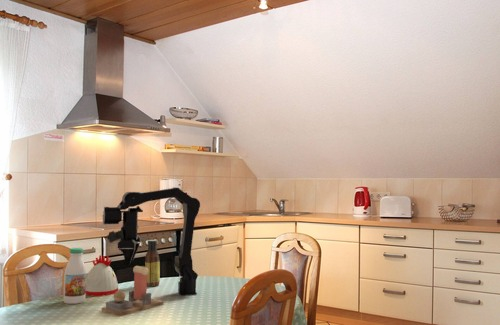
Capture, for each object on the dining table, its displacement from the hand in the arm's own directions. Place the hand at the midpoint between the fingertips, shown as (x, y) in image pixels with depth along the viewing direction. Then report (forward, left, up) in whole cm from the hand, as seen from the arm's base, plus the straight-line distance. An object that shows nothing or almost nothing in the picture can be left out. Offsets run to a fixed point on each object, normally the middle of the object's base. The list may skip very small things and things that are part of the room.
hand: (129, 263), depth 184 cm
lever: (-3, +13, -11) cm, 17 cm away
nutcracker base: (0, +15, -13) cm, 20 cm away
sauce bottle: (-12, -20, -14) cm, 27 cm away
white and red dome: (+10, -13, -14) cm, 21 cm away
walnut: (+5, +18, -10) cm, 22 cm away
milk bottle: (+20, +1, -14) cm, 24 cm away
